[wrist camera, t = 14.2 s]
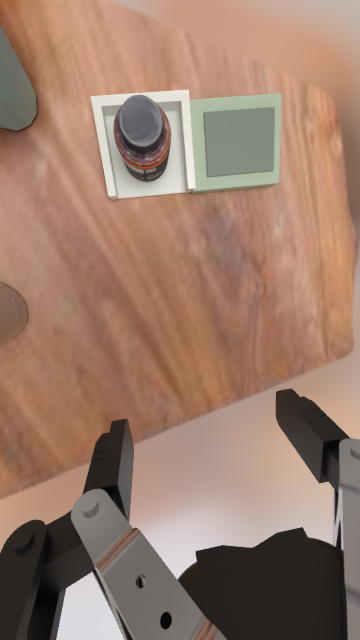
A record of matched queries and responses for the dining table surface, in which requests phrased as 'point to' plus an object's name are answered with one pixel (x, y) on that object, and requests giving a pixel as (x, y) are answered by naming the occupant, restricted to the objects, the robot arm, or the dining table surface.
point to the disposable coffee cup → (14, 90)
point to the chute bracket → (180, 156)
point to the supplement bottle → (143, 137)
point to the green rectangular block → (236, 142)
